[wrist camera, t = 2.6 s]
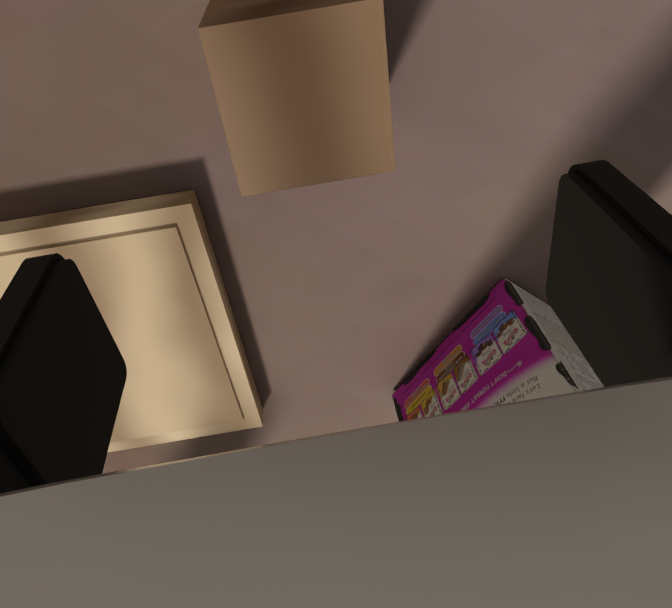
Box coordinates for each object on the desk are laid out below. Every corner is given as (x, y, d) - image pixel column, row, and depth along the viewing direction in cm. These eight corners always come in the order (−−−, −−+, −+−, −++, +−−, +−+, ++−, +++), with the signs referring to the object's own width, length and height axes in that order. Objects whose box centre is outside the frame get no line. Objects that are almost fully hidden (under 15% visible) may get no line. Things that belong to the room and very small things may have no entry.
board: (194, 189, 28) (190, 204, 26) (262, 408, 37) (262, 428, 36) (-129, 243, 28) (-149, 261, 26) (23, 448, 37) (15, 469, 36)
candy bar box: (445, 416, 40) (533, 680, 27) (389, 393, 38) (455, 665, 25) (562, 306, 35) (742, 564, 22) (504, 271, 33) (664, 534, 20)
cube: (357, -28, 23) (382, -3, 18) (371, 117, 26) (395, 170, 22) (211, -4, 23) (198, 28, 18) (245, 139, 27) (241, 196, 22)
